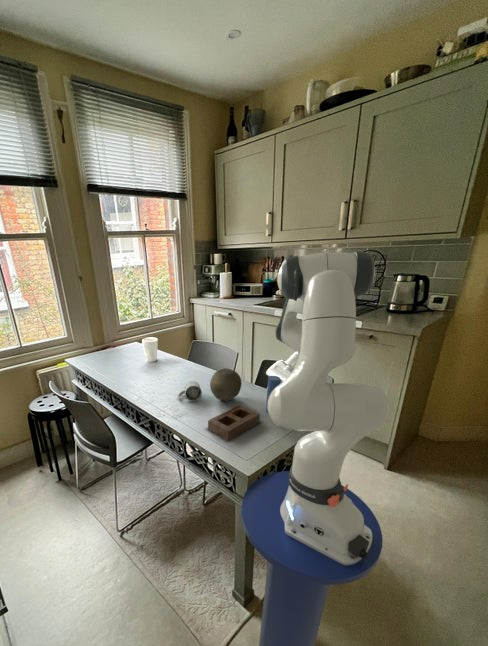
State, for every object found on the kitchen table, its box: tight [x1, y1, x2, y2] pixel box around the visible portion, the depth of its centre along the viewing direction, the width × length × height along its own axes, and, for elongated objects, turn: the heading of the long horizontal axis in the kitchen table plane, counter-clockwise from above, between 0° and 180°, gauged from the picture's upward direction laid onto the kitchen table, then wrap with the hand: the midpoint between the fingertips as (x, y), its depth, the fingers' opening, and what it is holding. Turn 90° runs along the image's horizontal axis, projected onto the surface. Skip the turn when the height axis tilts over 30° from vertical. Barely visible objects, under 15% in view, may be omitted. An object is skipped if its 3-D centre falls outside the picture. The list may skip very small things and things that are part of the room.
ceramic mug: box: [177, 380, 203, 402], centre depth 145 cm, size 11×8×8 cm
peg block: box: [207, 404, 261, 442], centre depth 123 cm, size 10×18×4 cm, turn 130°
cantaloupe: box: [209, 367, 242, 402], centre depth 140 cm, size 14×14×15 cm
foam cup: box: [141, 336, 159, 363], centre depth 192 cm, size 10×9×13 cm
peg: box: [265, 376, 280, 415], centre depth 125 cm, size 4×4×15 cm
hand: (272, 393), depth 124 cm, fingers closed on peg, 4 cm apart
